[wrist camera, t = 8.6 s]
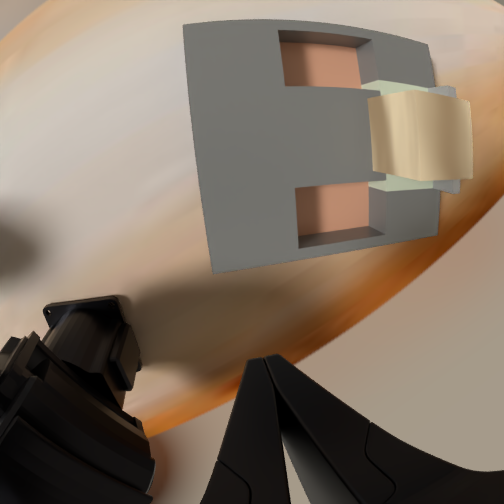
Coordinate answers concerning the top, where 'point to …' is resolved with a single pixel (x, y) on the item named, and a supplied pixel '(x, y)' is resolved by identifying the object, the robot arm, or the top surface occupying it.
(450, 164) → the maple block
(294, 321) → the top surface
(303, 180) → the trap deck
